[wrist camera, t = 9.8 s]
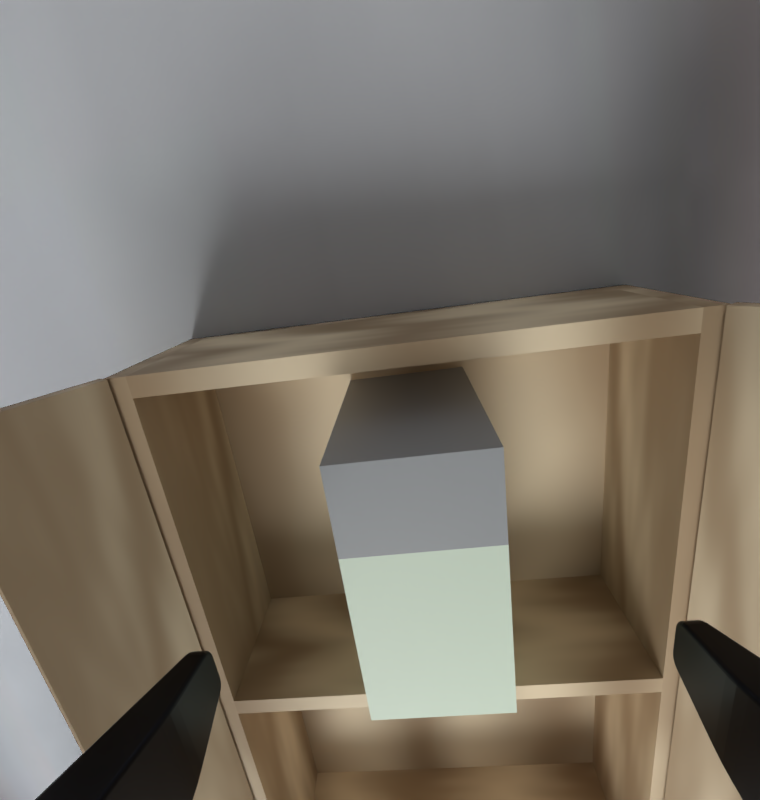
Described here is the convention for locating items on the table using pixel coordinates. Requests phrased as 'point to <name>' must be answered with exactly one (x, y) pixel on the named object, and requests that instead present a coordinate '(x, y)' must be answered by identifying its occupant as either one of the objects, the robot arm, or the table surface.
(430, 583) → the box
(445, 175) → the table surface
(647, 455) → the wooden cubby shelf
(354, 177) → the table surface
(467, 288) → the table surface
